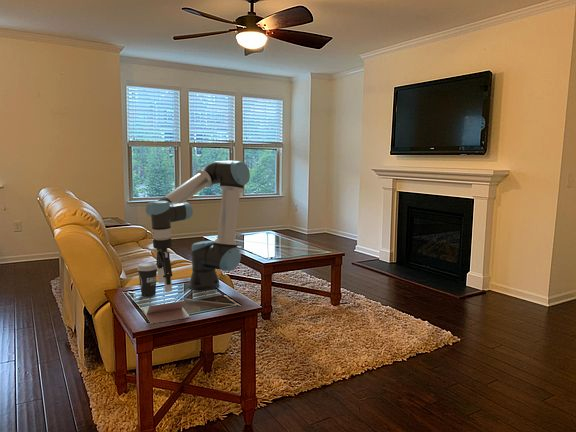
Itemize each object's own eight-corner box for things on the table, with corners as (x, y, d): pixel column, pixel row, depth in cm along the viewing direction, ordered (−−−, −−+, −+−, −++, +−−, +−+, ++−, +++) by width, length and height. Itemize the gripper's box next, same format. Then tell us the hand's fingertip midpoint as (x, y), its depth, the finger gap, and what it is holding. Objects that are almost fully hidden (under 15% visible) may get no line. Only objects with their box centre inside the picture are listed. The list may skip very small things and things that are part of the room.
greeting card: (146, 312, 188) (181, 306, 195) (148, 329, 186) (184, 323, 192) (149, 304, 179) (186, 298, 186) (151, 322, 176) (189, 315, 183)
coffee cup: (142, 298, 209) (141, 267, 207) (135, 293, 216) (133, 263, 214) (162, 294, 215) (160, 264, 213) (154, 290, 222) (152, 260, 220)
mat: (142, 308, 196) (142, 307, 196) (178, 303, 203) (178, 302, 203) (150, 324, 178) (150, 323, 178) (189, 317, 186) (189, 316, 185)
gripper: (147, 233, 195) (150, 280, 199) (158, 245, 173) (162, 297, 177) (164, 232, 199) (167, 277, 202) (178, 243, 177) (180, 294, 180)
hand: (165, 287), depth 189 cm, fingers open, 13 cm apart
